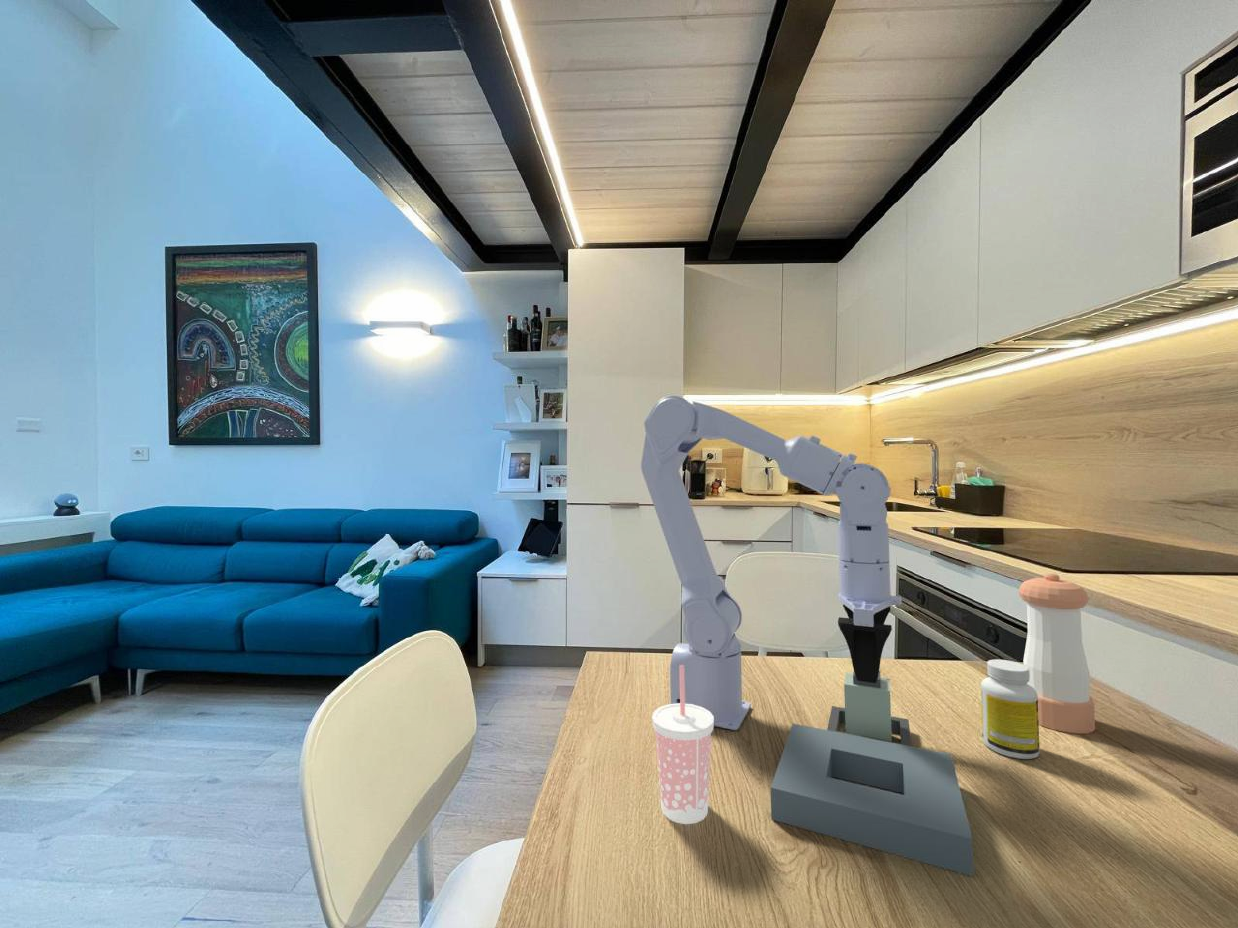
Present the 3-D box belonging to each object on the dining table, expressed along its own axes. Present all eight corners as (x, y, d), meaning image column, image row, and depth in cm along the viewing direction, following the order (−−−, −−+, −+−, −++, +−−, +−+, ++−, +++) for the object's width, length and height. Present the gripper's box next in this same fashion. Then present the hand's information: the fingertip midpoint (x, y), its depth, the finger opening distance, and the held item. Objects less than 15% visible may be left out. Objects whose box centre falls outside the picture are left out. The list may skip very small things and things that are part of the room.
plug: (845, 741, 63) (843, 675, 63) (847, 727, 66) (845, 664, 66) (892, 750, 60) (889, 682, 61) (891, 735, 64) (889, 670, 64)
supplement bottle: (1051, 763, 57) (1047, 674, 57) (996, 758, 58) (993, 672, 59) (1023, 738, 63) (1020, 658, 63) (973, 734, 64) (971, 655, 64)
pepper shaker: (1040, 703, 72) (1034, 566, 72) (1106, 725, 65) (1100, 575, 66) (1010, 714, 69) (1005, 571, 69) (1077, 739, 62) (1071, 581, 63)
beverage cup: (696, 784, 54) (694, 651, 55) (728, 819, 49) (725, 671, 49) (644, 797, 52) (641, 659, 53) (670, 836, 47) (667, 681, 47)
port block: (771, 819, 49) (770, 787, 49) (793, 748, 61) (792, 723, 61) (973, 876, 41) (972, 838, 41) (952, 783, 54) (951, 754, 54)
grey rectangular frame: (826, 745, 62) (826, 732, 62) (832, 717, 69) (832, 705, 69) (912, 763, 58) (912, 749, 58) (908, 731, 65) (908, 719, 65)
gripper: (902, 572, 56) (906, 698, 55) (898, 553, 68) (901, 655, 68) (832, 567, 59) (836, 687, 58) (841, 550, 72) (844, 648, 71)
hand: (867, 669), depth 63 cm, fingers open, 7 cm apart
